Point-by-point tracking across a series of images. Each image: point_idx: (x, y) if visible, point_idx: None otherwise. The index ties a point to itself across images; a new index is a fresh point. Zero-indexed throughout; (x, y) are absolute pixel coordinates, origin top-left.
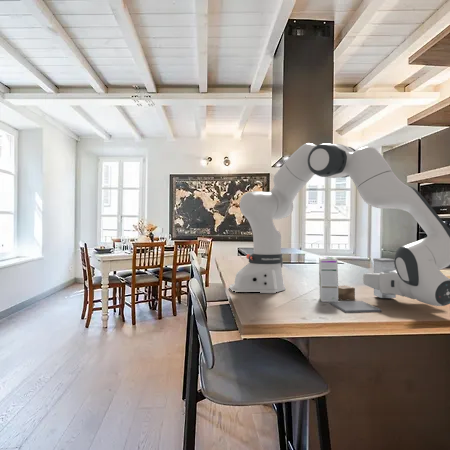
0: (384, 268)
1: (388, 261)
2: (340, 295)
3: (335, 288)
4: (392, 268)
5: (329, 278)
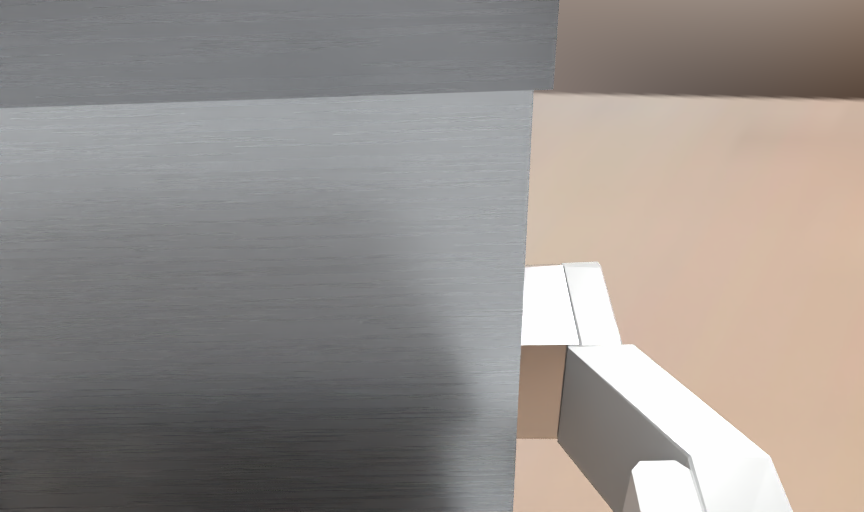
0: (2, 350)
1: (58, 64)
2: None
3: None
4: (374, 345)
5: None
